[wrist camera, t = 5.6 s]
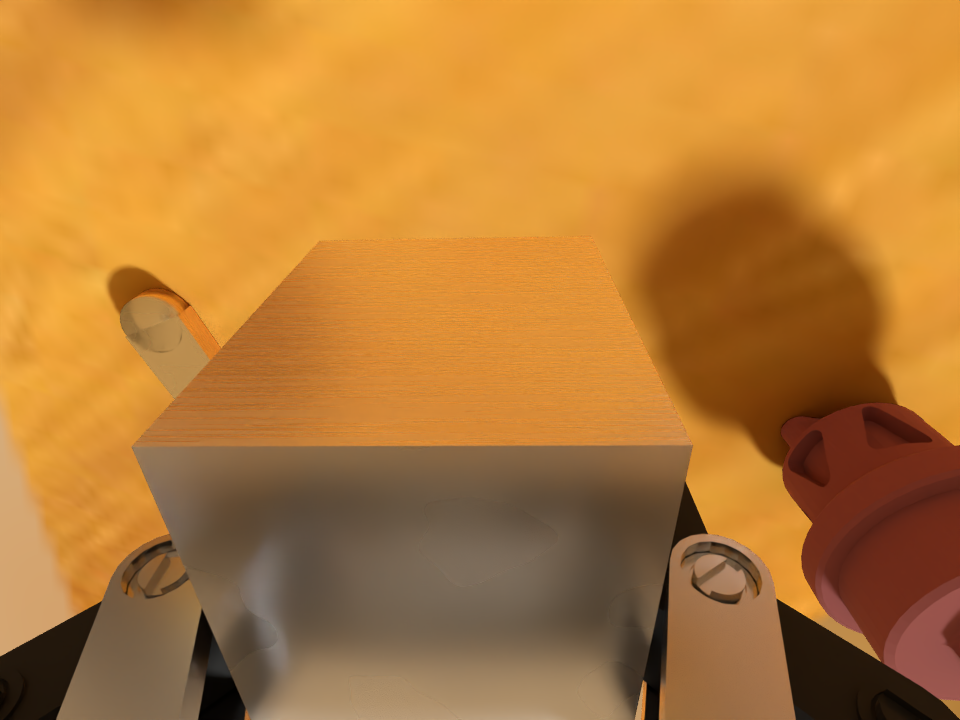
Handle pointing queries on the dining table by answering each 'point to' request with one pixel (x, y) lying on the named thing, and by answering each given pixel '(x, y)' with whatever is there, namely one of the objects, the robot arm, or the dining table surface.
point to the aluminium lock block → (428, 486)
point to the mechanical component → (883, 533)
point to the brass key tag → (168, 337)
